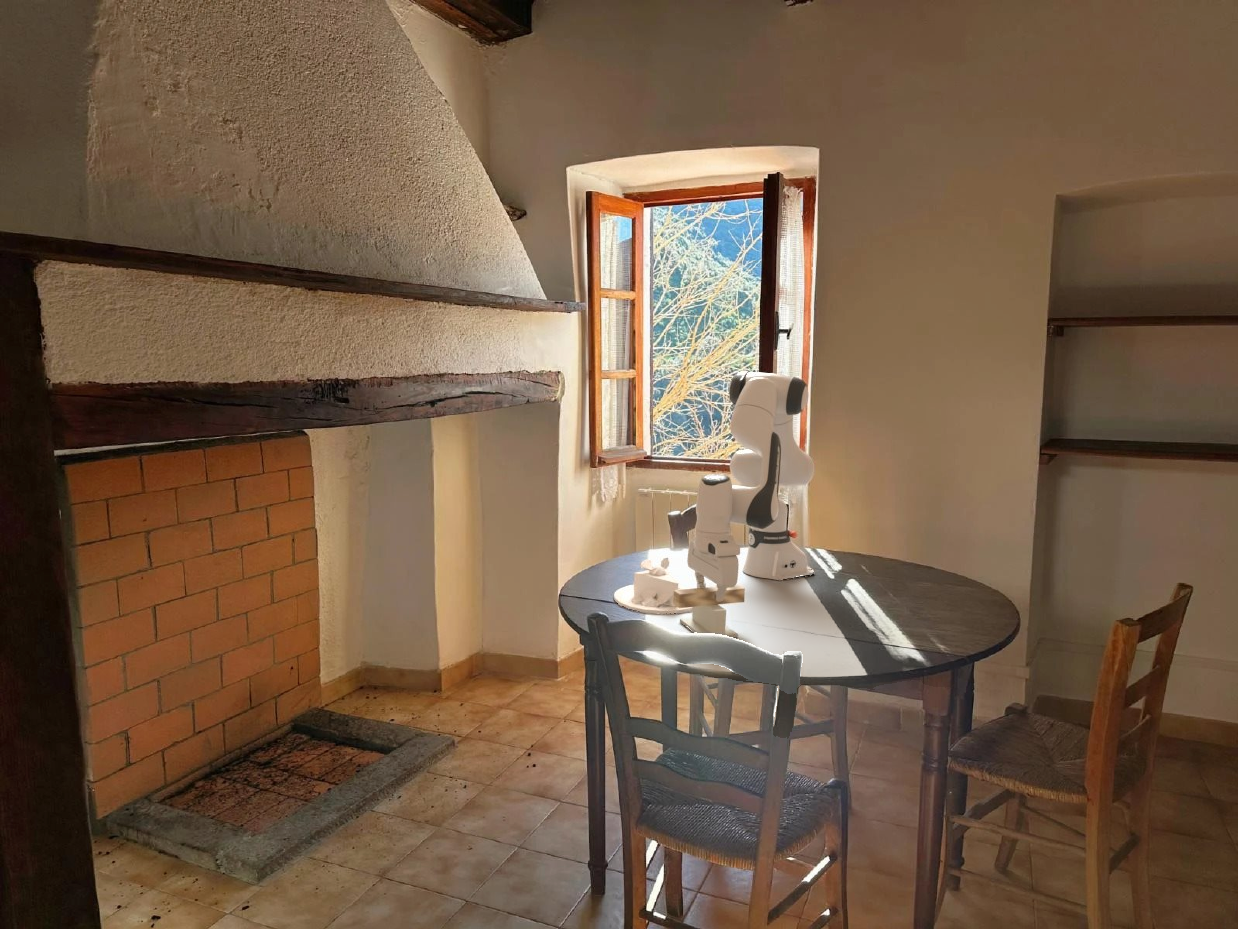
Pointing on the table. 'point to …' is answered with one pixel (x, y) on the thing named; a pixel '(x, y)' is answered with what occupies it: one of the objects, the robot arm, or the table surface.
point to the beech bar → (706, 596)
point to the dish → (651, 590)
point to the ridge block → (709, 621)
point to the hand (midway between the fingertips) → (709, 595)
